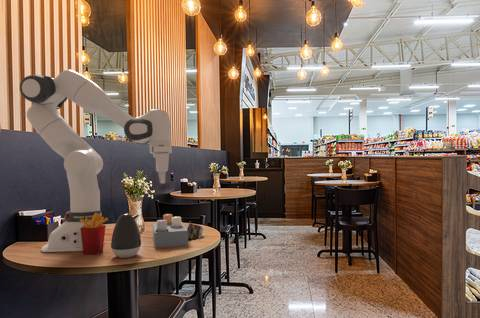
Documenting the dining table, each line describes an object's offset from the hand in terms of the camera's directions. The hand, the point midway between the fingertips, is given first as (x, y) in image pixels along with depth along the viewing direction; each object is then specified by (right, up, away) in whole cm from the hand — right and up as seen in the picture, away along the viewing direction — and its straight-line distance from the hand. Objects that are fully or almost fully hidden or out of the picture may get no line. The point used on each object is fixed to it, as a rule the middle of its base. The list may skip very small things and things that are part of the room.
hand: (162, 182), depth 136 cm
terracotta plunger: (-1, -21, +15) cm, 25 cm away
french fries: (-22, -26, -11) cm, 35 cm away
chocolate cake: (+12, -26, +13) cm, 31 cm away
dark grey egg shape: (-9, -25, -17) cm, 32 cm away
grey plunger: (0, -20, -1) cm, 20 cm away
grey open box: (+1, -25, +7) cm, 26 cm away
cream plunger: (+4, -20, +7) cm, 22 cm away
